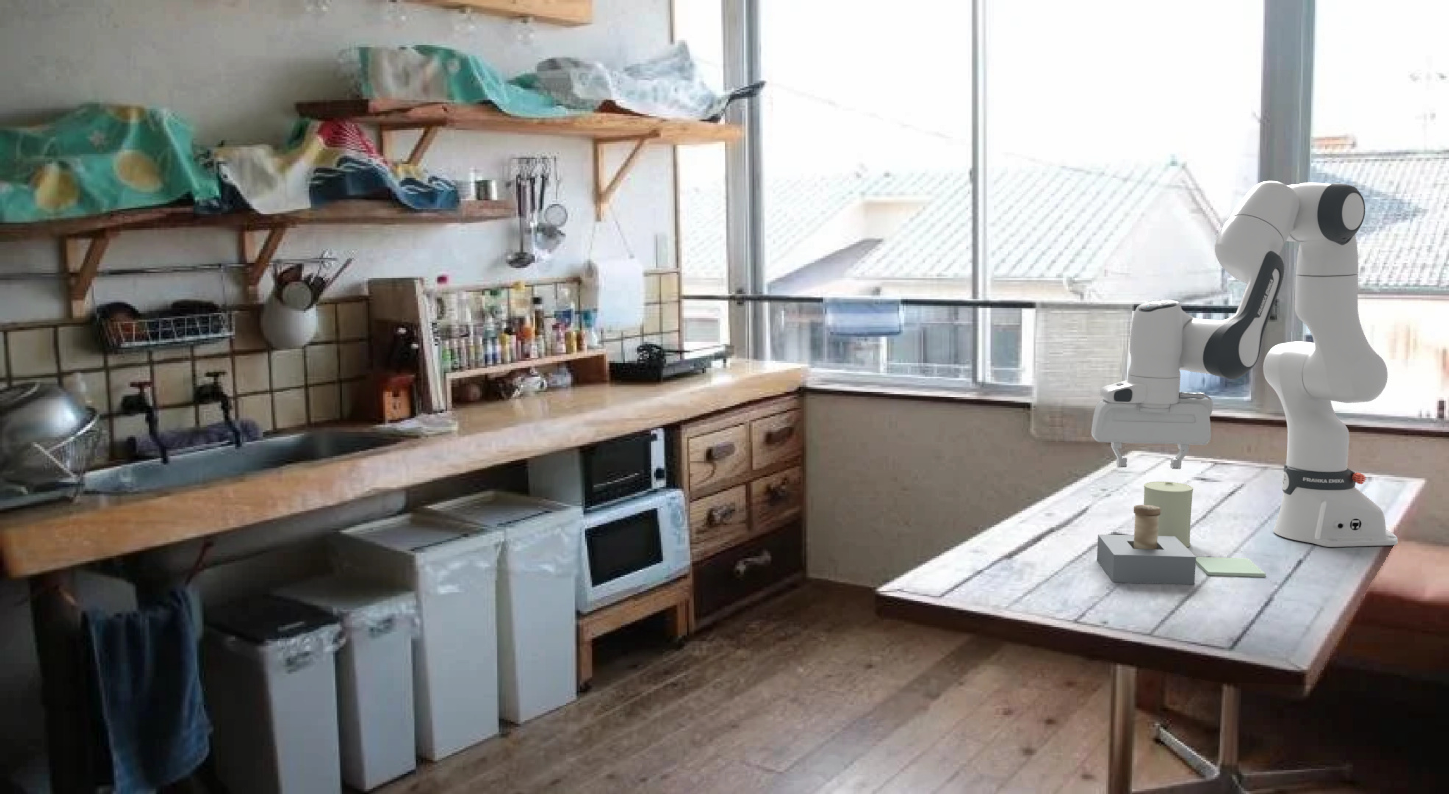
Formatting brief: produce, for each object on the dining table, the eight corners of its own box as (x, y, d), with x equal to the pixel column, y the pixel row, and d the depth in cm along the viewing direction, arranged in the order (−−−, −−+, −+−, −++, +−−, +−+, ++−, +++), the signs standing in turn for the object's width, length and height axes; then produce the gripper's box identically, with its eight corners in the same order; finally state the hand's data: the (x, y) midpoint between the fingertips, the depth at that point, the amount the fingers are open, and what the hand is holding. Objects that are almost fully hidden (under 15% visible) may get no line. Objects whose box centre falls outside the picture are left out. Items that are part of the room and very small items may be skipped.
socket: (1173, 562, 228) (1174, 536, 228) (1194, 584, 215) (1196, 556, 214) (1096, 560, 230) (1098, 534, 229) (1112, 582, 216) (1114, 554, 215)
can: (1189, 539, 245) (1192, 480, 243) (1191, 551, 236) (1194, 490, 234) (1141, 535, 248) (1144, 477, 246) (1140, 547, 239) (1143, 487, 237)
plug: (1153, 568, 224) (1157, 505, 222) (1160, 576, 220) (1163, 511, 218) (1128, 568, 225) (1131, 504, 223) (1133, 575, 220) (1137, 510, 218)
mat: (1247, 561, 229) (1247, 558, 229) (1265, 576, 219) (1265, 573, 219) (1192, 560, 230) (1192, 556, 230) (1208, 575, 220) (1208, 572, 220)
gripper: (1208, 390, 219) (1203, 466, 221) (1091, 387, 221) (1087, 462, 223) (1218, 395, 213) (1213, 473, 215) (1098, 392, 215) (1094, 469, 217)
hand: (1148, 467), depth 219 cm, fingers open, 8 cm apart
